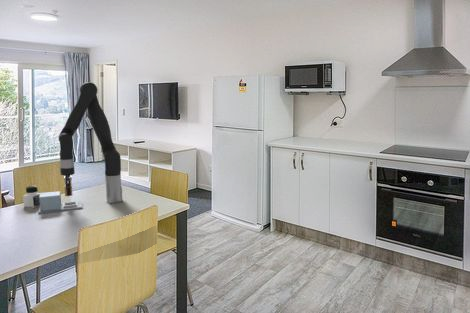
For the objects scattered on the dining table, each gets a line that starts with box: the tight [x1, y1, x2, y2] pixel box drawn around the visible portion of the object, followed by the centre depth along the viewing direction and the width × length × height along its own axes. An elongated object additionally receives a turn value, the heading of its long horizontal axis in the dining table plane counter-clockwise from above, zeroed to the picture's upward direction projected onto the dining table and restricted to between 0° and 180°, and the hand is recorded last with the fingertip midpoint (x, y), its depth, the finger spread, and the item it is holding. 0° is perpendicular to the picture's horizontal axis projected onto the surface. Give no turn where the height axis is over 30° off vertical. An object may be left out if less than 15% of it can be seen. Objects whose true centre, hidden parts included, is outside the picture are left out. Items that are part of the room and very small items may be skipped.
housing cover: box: [39, 190, 62, 211], centre depth 209 cm, size 10×10×8 cm
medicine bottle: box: [22, 185, 41, 208], centre depth 216 cm, size 7×7×12 cm
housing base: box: [37, 201, 83, 215], centre depth 211 cm, size 23×12×2 cm, turn 115°
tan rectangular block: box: [64, 183, 73, 197], centre depth 212 cm, size 4×4×6 cm
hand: (68, 194), depth 212 cm, fingers closed on tan rectangular block, 4 cm apart
